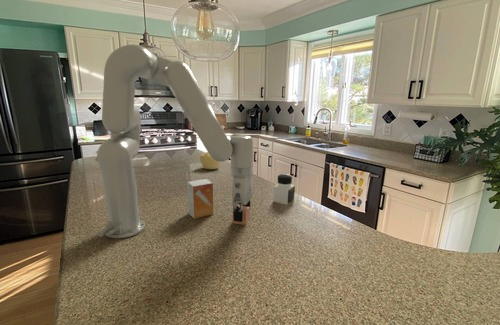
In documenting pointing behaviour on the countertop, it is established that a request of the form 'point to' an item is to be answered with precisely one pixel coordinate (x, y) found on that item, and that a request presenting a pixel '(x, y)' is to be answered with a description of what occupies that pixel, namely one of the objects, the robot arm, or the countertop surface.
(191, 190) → the small box
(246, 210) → the terracotta block
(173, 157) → the countertop surface
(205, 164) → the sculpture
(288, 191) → the medicine bottle
